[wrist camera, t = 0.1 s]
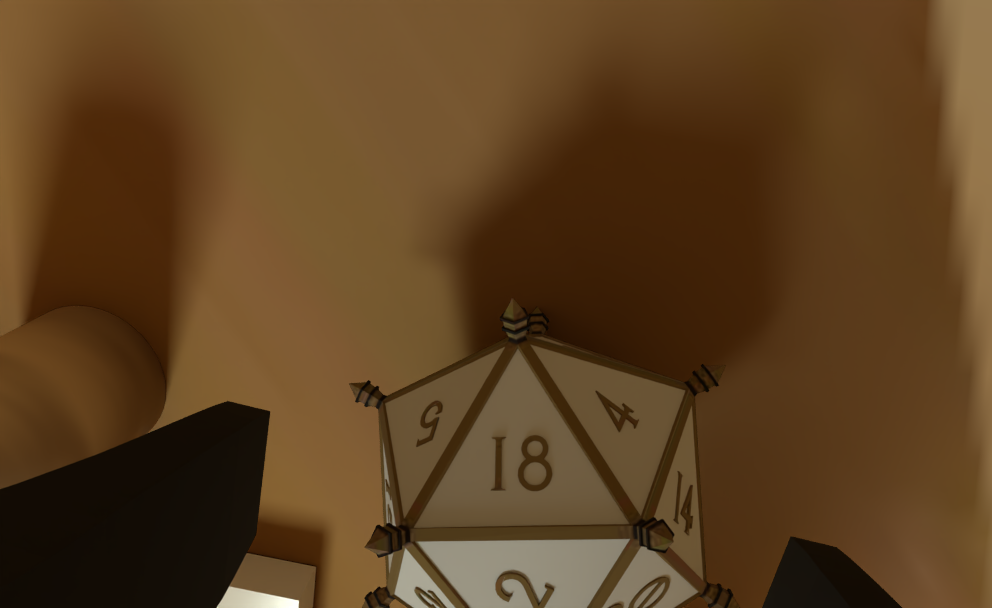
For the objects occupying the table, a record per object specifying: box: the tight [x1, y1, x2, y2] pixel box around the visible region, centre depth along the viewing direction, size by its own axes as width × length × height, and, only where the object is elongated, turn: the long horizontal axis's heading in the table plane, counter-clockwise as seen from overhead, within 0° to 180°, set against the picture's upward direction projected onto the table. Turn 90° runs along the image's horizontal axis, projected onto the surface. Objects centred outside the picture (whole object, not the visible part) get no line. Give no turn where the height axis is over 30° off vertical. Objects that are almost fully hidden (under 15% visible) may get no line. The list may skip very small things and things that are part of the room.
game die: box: [349, 298, 740, 608], centre depth 17 cm, size 9×8×10 cm
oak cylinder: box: [0, 306, 166, 489], centre depth 19 cm, size 4×4×7 cm
